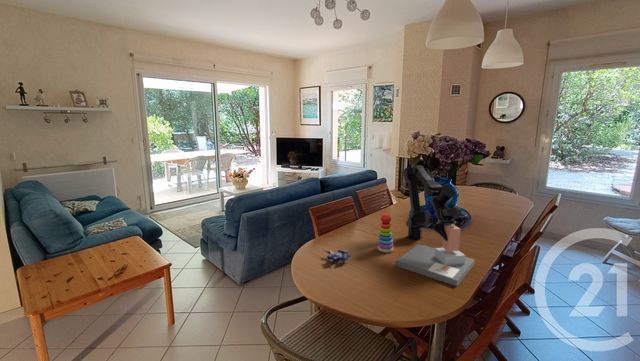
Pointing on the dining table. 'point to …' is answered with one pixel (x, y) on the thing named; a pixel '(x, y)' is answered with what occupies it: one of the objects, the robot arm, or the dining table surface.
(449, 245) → the pillar block
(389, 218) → the stacking toy
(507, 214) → the dining table surface
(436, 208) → the robot arm
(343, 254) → the toy airplane
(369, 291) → the dining table surface
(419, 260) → the board
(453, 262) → the base block
